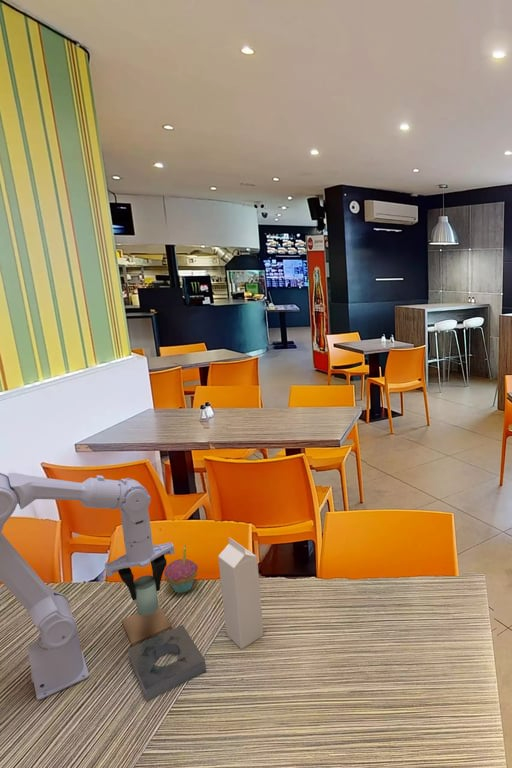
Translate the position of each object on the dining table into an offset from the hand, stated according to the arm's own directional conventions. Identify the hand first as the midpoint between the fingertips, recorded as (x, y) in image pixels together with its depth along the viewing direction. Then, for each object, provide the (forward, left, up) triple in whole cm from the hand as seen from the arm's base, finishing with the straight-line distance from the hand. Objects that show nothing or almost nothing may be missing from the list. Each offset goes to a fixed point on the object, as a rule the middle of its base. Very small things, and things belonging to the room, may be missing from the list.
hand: (145, 593), depth 98 cm
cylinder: (0, -1, -3) cm, 4 cm away
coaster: (0, +3, -10) cm, 11 cm away
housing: (0, -11, -10) cm, 15 cm away
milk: (+17, -13, -10) cm, 24 cm away
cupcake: (+12, +11, -10) cm, 20 cm away
